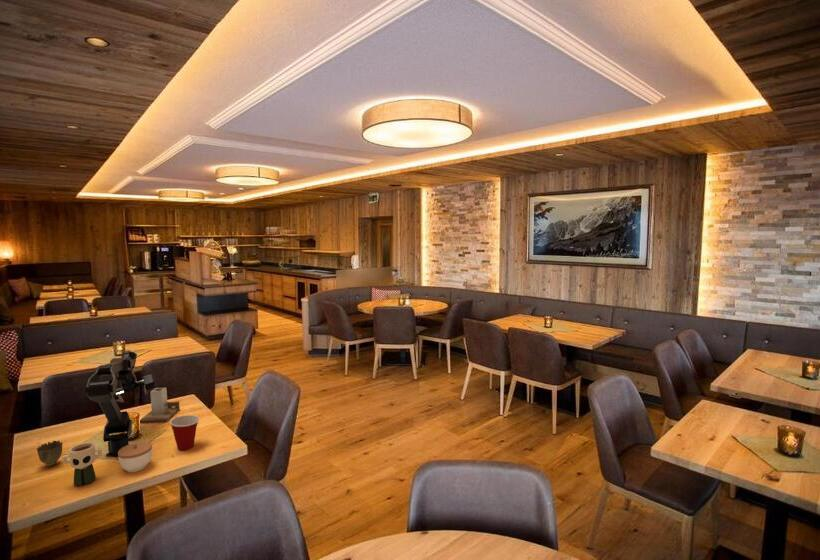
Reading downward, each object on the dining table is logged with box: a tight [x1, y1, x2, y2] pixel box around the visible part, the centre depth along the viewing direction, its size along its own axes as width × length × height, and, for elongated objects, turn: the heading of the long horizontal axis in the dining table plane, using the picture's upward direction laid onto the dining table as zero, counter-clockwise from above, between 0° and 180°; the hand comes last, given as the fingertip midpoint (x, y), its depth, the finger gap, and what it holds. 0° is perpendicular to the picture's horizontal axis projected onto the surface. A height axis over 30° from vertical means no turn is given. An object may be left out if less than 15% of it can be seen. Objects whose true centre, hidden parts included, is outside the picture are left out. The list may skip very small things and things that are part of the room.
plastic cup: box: [169, 414, 200, 451], centre depth 172 cm, size 11×11×12 cm
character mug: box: [62, 441, 103, 486], centre depth 148 cm, size 11×7×13 cm, turn 119°
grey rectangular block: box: [149, 387, 168, 416], centre depth 202 cm, size 5×5×12 cm
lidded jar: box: [118, 441, 153, 473], centre depth 157 cm, size 11×11×9 cm
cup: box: [36, 440, 63, 468], centre depth 160 cm, size 8×7×8 cm
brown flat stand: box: [140, 401, 181, 425], centre depth 202 cm, size 14×12×5 cm
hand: (134, 397), depth 192 cm, fingers open, 9 cm apart
